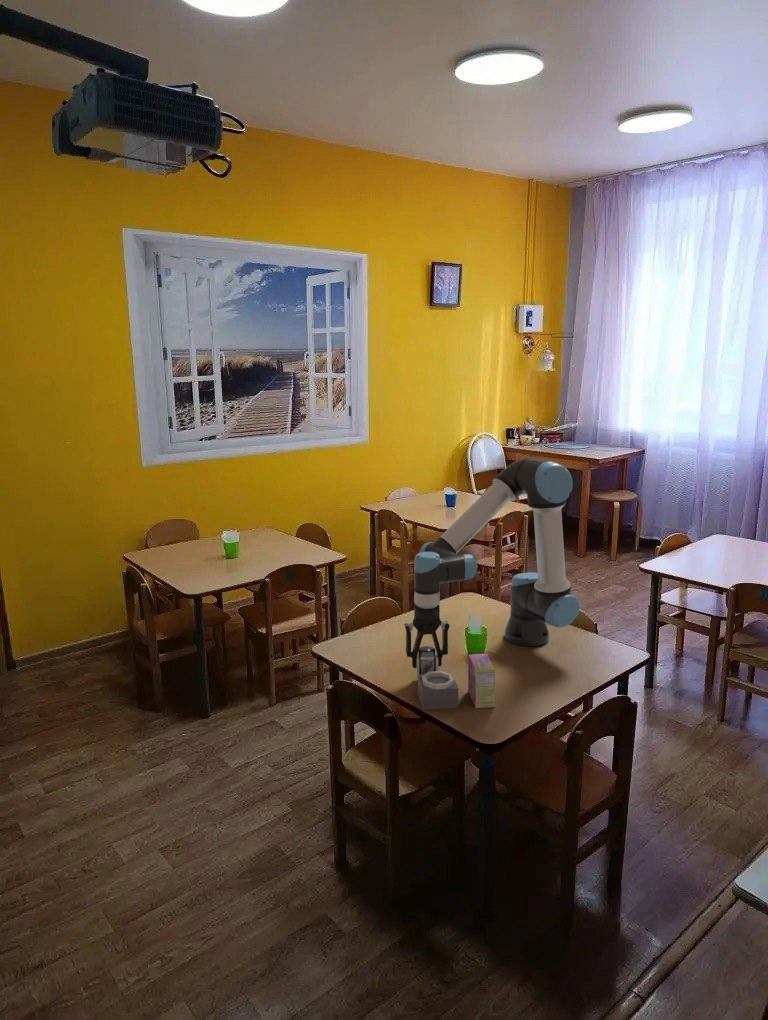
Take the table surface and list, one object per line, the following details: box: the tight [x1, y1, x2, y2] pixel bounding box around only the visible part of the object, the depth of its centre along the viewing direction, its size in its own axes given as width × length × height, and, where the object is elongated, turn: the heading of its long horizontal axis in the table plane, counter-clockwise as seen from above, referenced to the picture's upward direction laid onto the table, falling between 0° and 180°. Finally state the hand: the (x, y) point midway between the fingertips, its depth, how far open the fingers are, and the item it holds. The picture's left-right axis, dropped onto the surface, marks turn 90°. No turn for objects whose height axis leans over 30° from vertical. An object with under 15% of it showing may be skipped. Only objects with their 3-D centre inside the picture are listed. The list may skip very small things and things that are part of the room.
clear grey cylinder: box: [418, 645, 436, 676], centre depth 208 cm, size 5×5×10 cm
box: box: [467, 653, 497, 709], centre depth 196 cm, size 10×6×12 cm, turn 5°
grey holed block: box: [417, 670, 459, 711], centre depth 196 cm, size 10×9×7 cm
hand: (426, 676), depth 209 cm, fingers closed on clear grey cylinder, 5 cm apart
